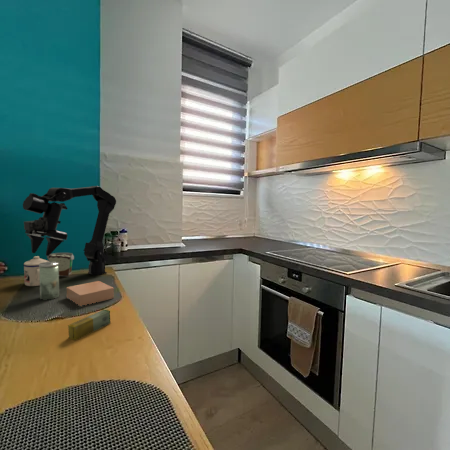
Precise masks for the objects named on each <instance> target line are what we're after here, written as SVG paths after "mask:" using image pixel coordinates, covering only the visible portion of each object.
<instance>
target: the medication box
mask: <svg viewBox="0 0 450 450" xmlns="http://www.w3.org/2000/svg"><path fill="white" fill-rule="evenodd" d="M109 324H111V310H109V309H102V310H100V311H97V312H95V313H93V314H90V315H89V316H86V317H84V318H82V319H79V320H77V321H75V322H73V323H70V324H68V325H67V326H68V327H67V329H68V339H69V340H73V341H77V340H79V339H81V338H83V337H85V336H87V335H90V334H92V333H93V332H95V331H98V330H100V329H101V328H104V327H105V326H107V325H109Z"/></svg>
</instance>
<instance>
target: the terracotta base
mask: <svg viewBox="0 0 450 450" xmlns="http://www.w3.org/2000/svg"><path fill="white" fill-rule="evenodd" d="M114 292H115V288H114V287H113V286H111V285H109V284H106V283H104V282H102V281H100V280H95V281H91V282H86V283H80V284H77V285H70V286H67V287H66V299H68V298H69V299H70V301H71V300H72V301H73V302H72V301H71V302H72V303H74V302H75V303H74V304H76V305H77V304H78V305H77V306H79V305H80V306H81V307H83V306H82V305H85V306H88V305H87V304H89V305H93V304H96V302H97V303H100V302H104V301H107V300H108V301H109V300H111V299H114V298H115V296H114V295H115V293H114ZM69 299H68V300H69ZM92 303H93V304H92ZM80 306H79V307H80Z"/></svg>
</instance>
